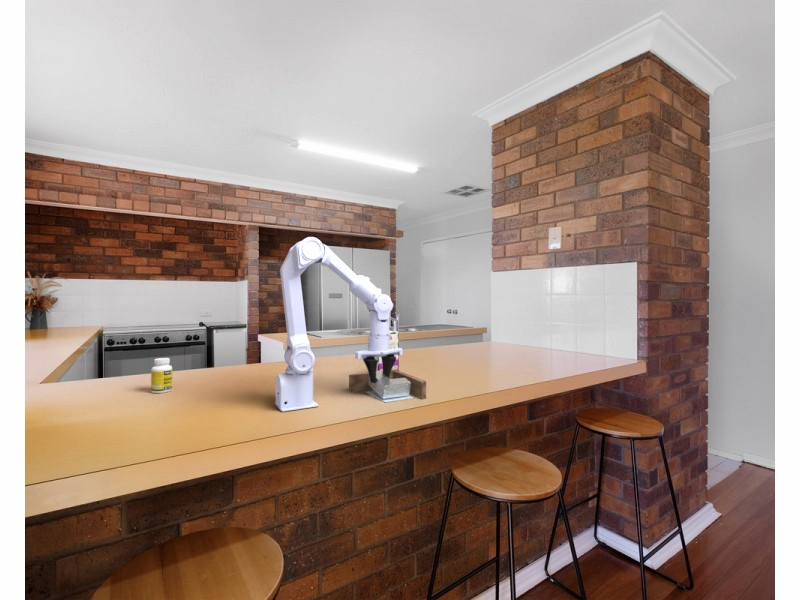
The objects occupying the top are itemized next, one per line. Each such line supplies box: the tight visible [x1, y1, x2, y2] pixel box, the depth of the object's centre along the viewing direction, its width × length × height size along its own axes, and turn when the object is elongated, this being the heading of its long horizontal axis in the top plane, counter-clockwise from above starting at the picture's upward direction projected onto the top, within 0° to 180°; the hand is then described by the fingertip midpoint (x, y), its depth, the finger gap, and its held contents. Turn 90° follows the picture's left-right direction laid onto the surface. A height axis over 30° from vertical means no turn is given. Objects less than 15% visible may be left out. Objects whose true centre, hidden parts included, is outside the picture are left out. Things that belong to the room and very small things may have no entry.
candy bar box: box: [367, 330, 400, 373], centre depth 132 cm, size 11×5×16 cm, turn 143°
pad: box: [366, 390, 414, 403], centre depth 112 cm, size 9×12×1 cm
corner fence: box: [348, 370, 427, 400], centre depth 113 cm, size 16×18×5 cm
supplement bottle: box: [150, 357, 173, 394], centre depth 116 cm, size 5×5×10 cm
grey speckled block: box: [368, 371, 411, 399], centre depth 113 cm, size 10×8×4 cm
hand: (379, 381), depth 112 cm, fingers closed on grey speckled block, 3 cm apart
